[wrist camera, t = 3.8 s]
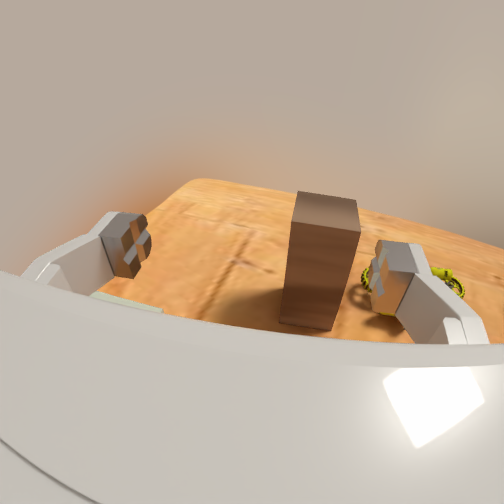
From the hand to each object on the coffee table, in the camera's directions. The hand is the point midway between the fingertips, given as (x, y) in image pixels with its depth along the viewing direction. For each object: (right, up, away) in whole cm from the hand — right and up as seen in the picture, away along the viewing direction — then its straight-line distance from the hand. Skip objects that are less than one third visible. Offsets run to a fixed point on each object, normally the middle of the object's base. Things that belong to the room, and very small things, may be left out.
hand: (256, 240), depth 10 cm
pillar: (+5, -5, +16) cm, 18 cm away
